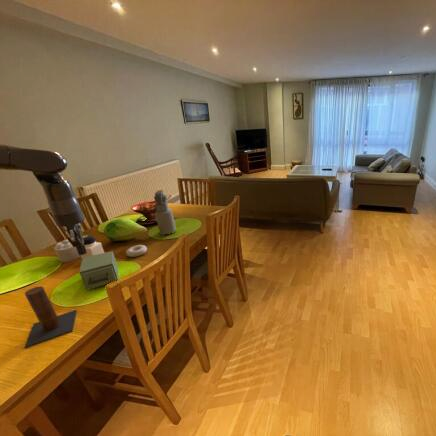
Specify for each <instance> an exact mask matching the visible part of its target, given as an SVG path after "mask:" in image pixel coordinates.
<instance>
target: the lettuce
mask: <svg viewBox="0 0 436 436" xmlns="http://www.w3.org/2000/svg"><path fill="white" fill-rule="evenodd" d="M135 222H136V221H134V220H133V219H130V218H128V217H120V218H117V219H112V220H110V221H109V222H108V223H107V224H106V225H105V226H104V230H103V235H104V236H105V237H106V238H107V239H108V240H109V241H111V242H114V243H116V242H117V243H118V242H125V241H130V240H133V239H135V238H136V237H138V236H139V235H141V234H144V233H146V232H147V231H148V228H146V227H145V226H142V225H141V224H137V223H135Z"/></svg>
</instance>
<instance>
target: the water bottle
mask: <svg viewBox="0 0 436 436" xmlns="http://www.w3.org/2000/svg"><path fill="white" fill-rule="evenodd" d="M167 198H168V197H167V194H164V190H163V189H159V190H156V191H155V193H154V197H153V199H154V201H155V202H156V205H155V210H156V213H155V215H156V219H157V222H156V223H157V227H158V231H159V234H160V235H162V236H166V235H165V234H169V233H172V232H174V231H175V230H176V231H177V228H176V223H175V219H174V218H175V217H174V214H173V210H172V209H171V208H170V207H169V204H168V200H167ZM156 206H157V209H156ZM176 231H175V232H176ZM175 232H174V233H175ZM172 234H173V233H172ZM169 235H170V234H169Z"/></svg>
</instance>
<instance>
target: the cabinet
mask: <svg viewBox="0 0 436 436" xmlns="http://www.w3.org/2000/svg"><path fill="white" fill-rule="evenodd" d="M110 265H111V266H112V269H113V272H114V274H115V277H116V280H118V281H119V266H118V262H117V260H116V257H115V253H114V251H113V250H110V251H106V252H104V253H102V254H98V255H93V256H89V257H85V258H81V262H80V267H79V271H78V273H79V275H80V277H81V280H82V283H83V285H84V287H85V289H86V291H89V290H93V289H96V288H99V286H98V287H95V288H91V289H87V287H86V284H85V282H84V280H83V277H82V273H85V272H88V271H92V270H95V269H99V268H103V267H107V266H110ZM106 285H107V284H105V285H104V286H106ZM100 287H102V285H101V286H100Z"/></svg>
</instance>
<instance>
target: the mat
mask: <svg viewBox="0 0 436 436" xmlns="http://www.w3.org/2000/svg"><path fill="white" fill-rule="evenodd" d="M77 311H78V310H77V309H74V310H71V311H68V312H65V313H62V314H59V315H57V317H58V319H59V321H60V323H61V324H60V326H59V327H57V328H56V329H54V330H52V331H47V332H46V331H44V329H43V328H42V326H41V324H40V322H39V321H38V322H34V323H33V324H32V327H31V330H30V332H29V334H28V337H27V340H26V342H25V345H24V348H25V349H27V348H29V347H33V346H35V345H38V344H41V343H43V342H46V341H49V340H52V339H55V338H58V337H60V336H64V335H66V334H69V333H72V332H73V331H74V326H75V322H76V316H77Z"/></svg>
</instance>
